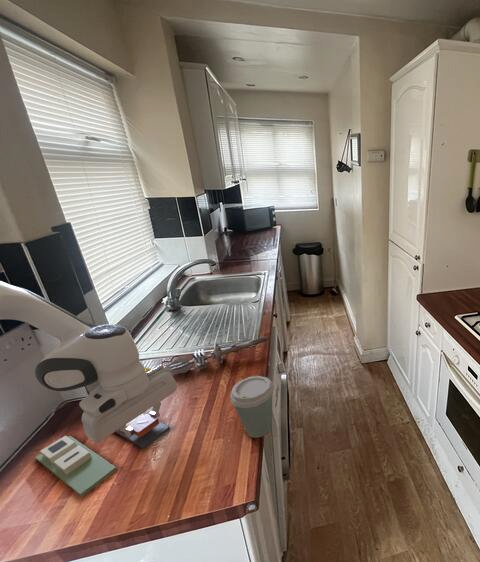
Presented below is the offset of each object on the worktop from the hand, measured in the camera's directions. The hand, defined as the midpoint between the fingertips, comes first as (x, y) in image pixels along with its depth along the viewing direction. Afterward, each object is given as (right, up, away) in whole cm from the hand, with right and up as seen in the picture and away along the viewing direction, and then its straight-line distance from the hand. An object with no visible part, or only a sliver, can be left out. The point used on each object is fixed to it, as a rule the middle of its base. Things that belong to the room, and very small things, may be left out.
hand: (143, 425), depth 82 cm
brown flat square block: (0, -1, 0) cm, 1 cm away
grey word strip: (-6, -2, +4) cm, 8 cm away
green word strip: (-12, -7, -7) cm, 15 cm away
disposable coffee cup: (+31, -2, +2) cm, 31 cm away
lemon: (-12, +4, +18) cm, 22 cm away
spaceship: (+6, +9, +30) cm, 32 cm away
